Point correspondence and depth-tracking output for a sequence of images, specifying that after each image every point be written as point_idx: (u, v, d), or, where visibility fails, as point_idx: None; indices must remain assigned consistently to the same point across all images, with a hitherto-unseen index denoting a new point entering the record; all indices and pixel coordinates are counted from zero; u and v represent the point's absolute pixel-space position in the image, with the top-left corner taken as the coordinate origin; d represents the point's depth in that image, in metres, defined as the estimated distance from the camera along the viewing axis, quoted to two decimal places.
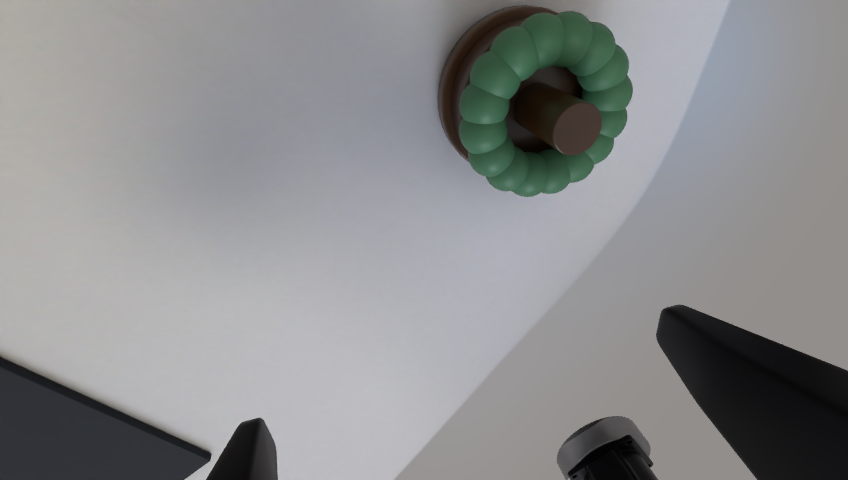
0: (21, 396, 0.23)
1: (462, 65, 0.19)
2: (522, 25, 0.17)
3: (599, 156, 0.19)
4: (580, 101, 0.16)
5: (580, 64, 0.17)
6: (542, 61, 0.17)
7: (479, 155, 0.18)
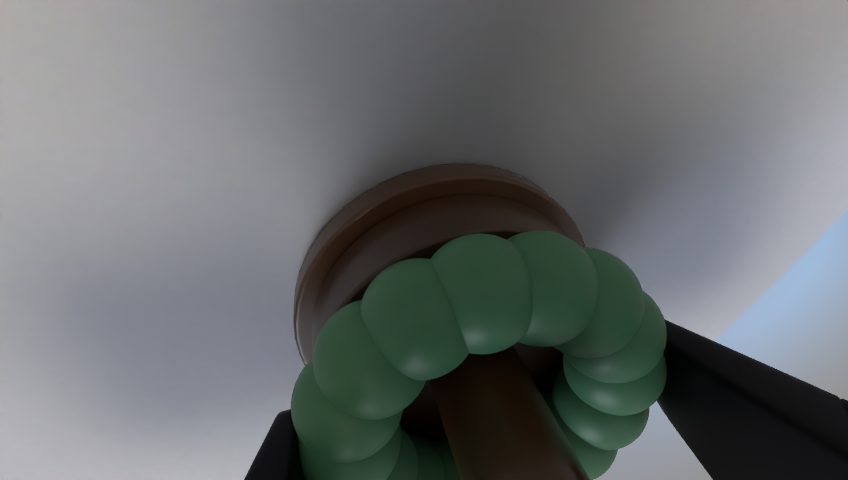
0: None
1: (371, 232, 0.09)
2: (520, 245, 0.07)
3: None
4: None
5: (591, 363, 0.08)
6: (530, 341, 0.07)
7: (314, 459, 0.08)
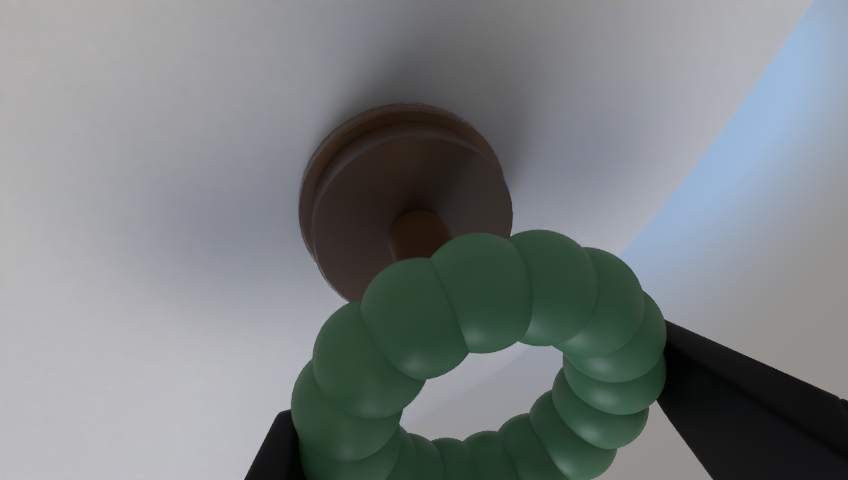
0: None
1: (349, 145, 0.14)
2: (520, 245, 0.07)
3: None
4: None
5: (591, 362, 0.08)
6: (529, 340, 0.07)
7: (315, 458, 0.08)
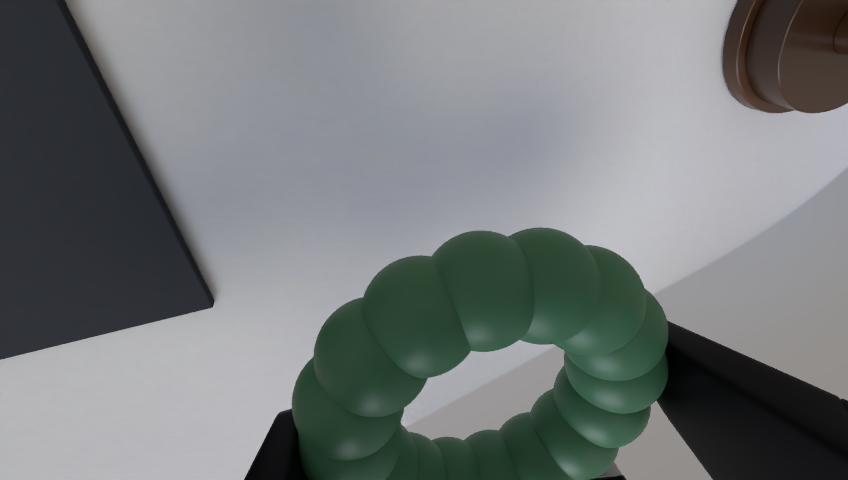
0: (34, 48, 0.13)
1: None
2: (521, 243, 0.07)
3: None
4: None
5: (593, 361, 0.08)
6: (531, 338, 0.07)
7: (316, 457, 0.08)
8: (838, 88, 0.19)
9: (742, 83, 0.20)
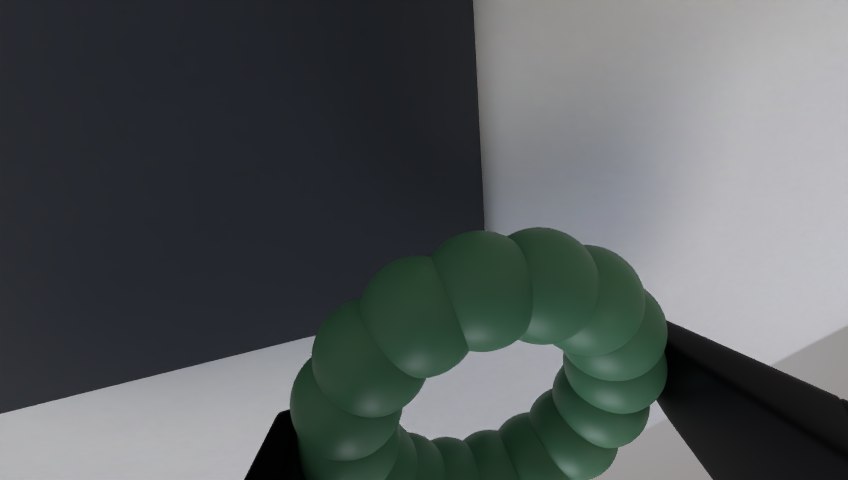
0: None
1: None
2: (520, 242, 0.07)
3: None
4: None
5: (592, 361, 0.08)
6: (530, 339, 0.07)
7: (314, 457, 0.08)
8: None
9: None
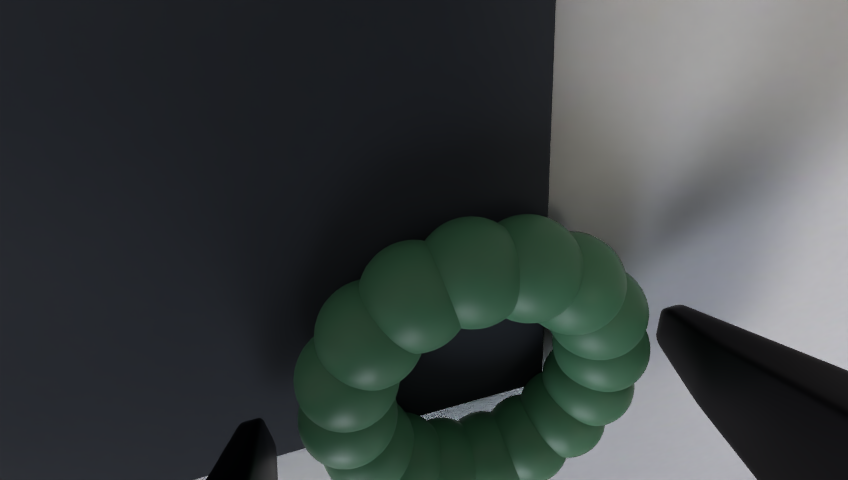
0: None
1: None
2: (508, 227, 0.08)
3: None
4: None
5: (577, 340, 0.08)
6: (518, 317, 0.08)
7: (316, 429, 0.08)
8: None
9: None
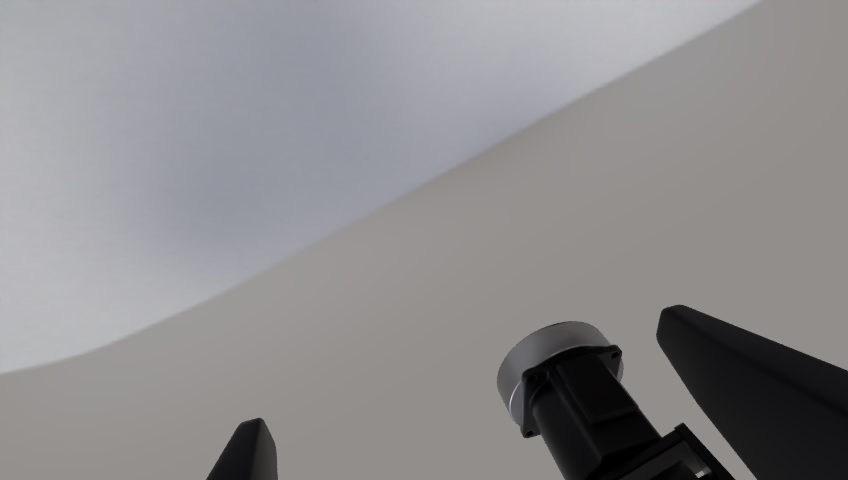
0: None
1: None
2: None
3: None
4: None
5: None
6: None
7: None
8: None
9: None
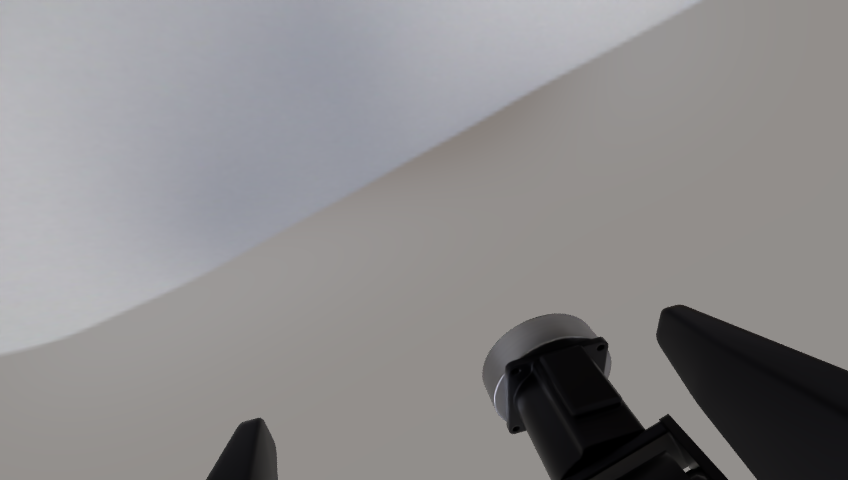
0: None
1: None
2: None
3: None
4: None
5: None
6: None
7: None
8: None
9: None
